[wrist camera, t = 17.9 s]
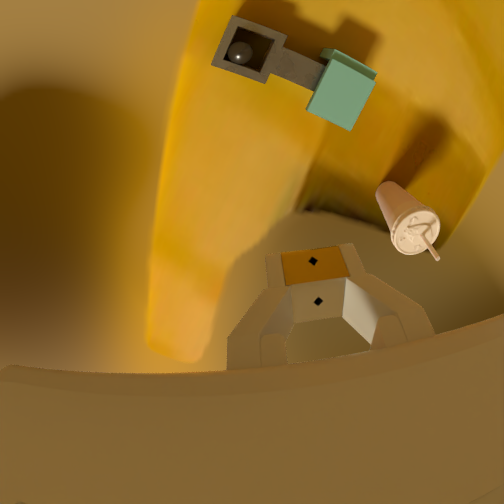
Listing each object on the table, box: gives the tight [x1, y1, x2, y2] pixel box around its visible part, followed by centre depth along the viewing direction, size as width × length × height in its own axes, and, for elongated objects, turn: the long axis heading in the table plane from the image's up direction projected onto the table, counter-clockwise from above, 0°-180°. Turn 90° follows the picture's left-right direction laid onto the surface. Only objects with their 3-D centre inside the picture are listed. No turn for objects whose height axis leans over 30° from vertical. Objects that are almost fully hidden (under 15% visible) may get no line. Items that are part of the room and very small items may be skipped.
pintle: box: [228, 42, 253, 64], centre depth 26 cm, size 2×2×6 cm
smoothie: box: [376, 181, 440, 261], centre depth 34 cm, size 6×6×14 cm
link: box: [211, 15, 326, 91], centre depth 27 cm, size 15×6×4 cm, turn 68°
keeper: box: [306, 48, 377, 131], centre depth 28 cm, size 5×7×5 cm
